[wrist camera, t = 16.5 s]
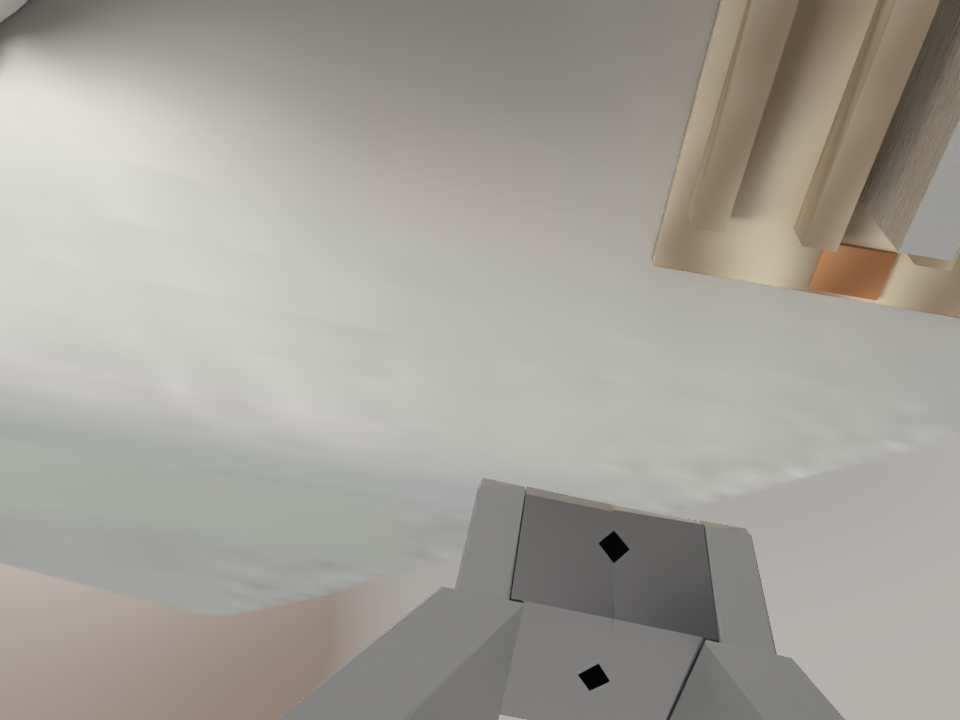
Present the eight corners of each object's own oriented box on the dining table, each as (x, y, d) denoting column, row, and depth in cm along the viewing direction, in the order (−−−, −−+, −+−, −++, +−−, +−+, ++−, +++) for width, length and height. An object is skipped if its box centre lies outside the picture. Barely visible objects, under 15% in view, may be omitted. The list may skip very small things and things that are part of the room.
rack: (652, 257, 38) (654, 283, 35) (807, -327, 26) (827, -349, 23) (1021, 319, 36) (1051, 352, 34) (1366, -261, 24) (1451, -277, 22)
